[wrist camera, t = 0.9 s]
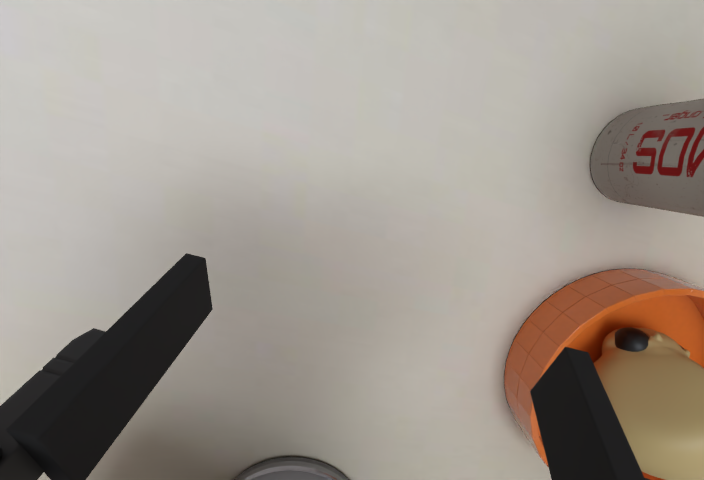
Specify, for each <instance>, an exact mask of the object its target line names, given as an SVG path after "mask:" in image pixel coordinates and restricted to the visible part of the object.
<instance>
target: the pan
mask: <svg viewBox="0 0 704 480" xmlns="http://www.w3.org/2000/svg"><path fill="white" fill-rule="evenodd" d="M625 327H633V328H646V329H651V330H655V331H658V332H661V333H663V334H665V335H667V336H669V337H670V338H672V339H673V340H674V341H675V342H677V343H678V344H679V345H680V346H682V347H683V348H684V349H686V350H688V351H689V352H690V356H689V358H690V359H691V360H693V361H695V362H696V363H698V364H699V365H701V366H702V367H703V368H704V289H703V288H700V287H698V286H695V285H692V284H690V283H687V282H684V281H681V280H679V279H676V278H673V277H671V276H668V275H665V274H661V273H657V272H653V271H648V270H642V269H617V270H608V271H604V272H600V273H596V274H592V275H590V276H587V277H584V278H581V279H579V280H577V281H575V282H573V283H571V284H569V285H567V286H565V287H564V288H562V289H561V290H559V291H557V292H556V293H554V294H553V295H552V296H550V297H549V298H548V299H547V300H545V301H544V302H543V303H542V304H541V305H540V306H539V307H538V308H537V309H536V310H535V311H534V312H533V313H532V314H531V315H530V316H529V318H528V319H527V320H526V322H525V323H524V324H523V326H522V327H521V329H520V330H519V332H518V334H517V335H516V337H515V339H514V341H513V344H512V346H511V348H510V351H509V354H508V358H507V361H506V367H505V374H504V386H505V393H506V398H507V401H508V404H509V407H510V409H511V411H512V413H513V415H514V418H515V420H516V421H517V423H518V424H519V426H520V427H521V429H522V430H523V432H524V433H525V435H526V436H527V438H528V439H529V441H530V442H531V444H532V445H533V447H534V448H535V450H536V451H537V453H538V454H539V456H540V457H541V459H542V460H543V461H544V462H545V463H546V465H547V466H548V462H547V458H546V454H545V450H544V446H543V442H542V438H541V434H540V430H539V426H538V422H537V418H536V414H535V410H534V406H533V402H532V398H531V394H530V391H531V389H532V388H533V387H534V386H535V384H536V383H537V382H538V381H539V379H540V378H541V377H542V375H543V374H544V373H545V372H546V370H547V369H548V368H549V367H550V365H551V364H552V363H553V361H554V360H555V359H556V358H557V356H558V355H559V354H560V353H561V351H562V350H563V349H564V348H565V347H569V348H573V349H577V350H581V351H585V352H588V353H589V355H590V357H591V359H592V362H593V363H594V362H595V361H597V360H598V359H599V358H600V357H601V356H602V344H603V341H604V339H605V337H606V336H607V335H608V334H609V333H611V332H612V331H614V330H616V329H619V328H625ZM548 467H549V466H548ZM642 474H643V476H644V478H647V479H651V480H665V479H661V478H658V477H654V476H652V475H649V474H647V473H644V472H642Z"/></svg>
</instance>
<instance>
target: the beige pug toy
mask: <svg viewBox="0 0 704 480" xmlns="http://www.w3.org/2000/svg"><path fill="white" fill-rule="evenodd" d="M689 356H690V352H689V351H688V350H686V349H684V348H683V347H682V346H680V345H679V344H678V343H677V342H675V341H674V340H673V339H672V338H670V337H669V336H667V335H665V334H663V333H661V332H658V331H655V330H651V329H646V328H633V327H625V328H619V329H616V330H614V331H612V332H611V333H609V334H608V335H607V336H606V337H605V339H604V341H603V344H602V356H601V357H600V358H599V359H598V360H597V361H595V362H594V363H593V364H594V366H595V368H596V371H597V373H598V375H599V377H600V380H601V382H602V384H603V386H604V389H605V391H606V393H607V395H608V397H609V400H610V402H611V404H612V406H613V409H614V411H615V413H616V415H617V418H618V420H619V422H620V424H621V427H622V429H623V431H624V433H625V436H626V438H627V440H628V442H629V444H630V447H631V449H632V451H633V453H634V456H635V458H636V460H637V462H638V465H639V467H640V469H641V471H642V472H644V473H647V474H649V475H652V476H654V477H658V478H661V479H665V480H704V368H703V367H702V366H701V365H699V364H698V363H696V362H695V361H693V360H691V359H690V358H689Z"/></svg>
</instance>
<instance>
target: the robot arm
mask: <svg viewBox="0 0 704 480" xmlns="http://www.w3.org/2000/svg"><path fill="white" fill-rule="evenodd" d="M211 311H212V302H211V295H210V288H209V281H208V273H207V266H206V259H205V258H203V257H199V256H195V255H191V254H185V255H184V256H183V257H182V258H181V259H180V260H179V261H178V262H177V263H176V264H175V265H174V266H173V267H172V268H171V269H170V270H169V271H168V272H167V273H166V274H165V275H164V276H163V277H162V278H161V279H160V280H159V281H158V282H157V283H156V284H155V285H153V286H152V287H151V288H150V289H149V290H148V291H147V292H146V293H145V294H144V295H143V296H142V297H141V298H140V299H139V300H138V301H137V302H136V303H135V304H134V305H133V306H132V307H131V308H130V309H129V310H128V311H127V312H126V313H125V314H124V315H123V316H122V317H121V318H120V319H119V320H118V321H117V322H116V323H115V324H114V325H113V326H112V327H111V328H109V329H108V330H107V331H106V332H105V331H101V330H97V329H94V328H93V329H92V330H90V331H88V332H86V333H85V334H83V335H81V336H79V337H77V338H76V339H74V340H72V341H71V342H70V343H69V344H68V345H67V346H66V347H65V348H64V349H63V350H62V351H60V352H59V353H58V354H57V356H56V358H53V359H52V360H51V361H49V362H48V363H47V364H46V365H45V366H44V367H43V369H42V370H41V371H38V372H37V373H36V374H35V375H34V376H33V377H32V378H31V379H30V380H29V381H27V382H26V383H25V384H24V385H23V386H22V387H21V388H20V389H19V390H18V391H16V392H15V393H14V394H13V395H12V396H11V397H10V398H9V399H8V400H7V401H6V402H4V403H3V404H2V405H1V406H0V480H37V479H38V478H39V477H40V476H41V475H42V473H43V472H45V474H46V475H47V476H48V477H49V478H50V479H51V480H86V478H87V477H88V476H89V474H90V473H91V472H92V470H93V469H94V468H95V466H96V465H97V464H98V462H99V461H100V460H101V458H102V457H103V455H104V454H105V453H106V451H107V450H108V449H109V447H110V446H111V445H112V443H113V442H114V441H115V439H116V438H117V437H118V435H119V434H120V433H121V431H122V430H123V429H124V427H125V426H126V425H127V423H128V422H129V421H130V419H131V418H132V417H133V415H134V414H135V413H136V411H137V410H138V409H139V407H140V406H141V404H142V403H143V402H144V400H145V399H146V398H147V396H148V395H149V394H150V392H151V391H152V390H153V388H154V387H155V386H156V384H157V383H158V382H159V380H160V379H161V378H162V376H163V375H164V374H165V372H166V371H167V370H168V368H169V367H170V366H171V364H172V363H173V362H174V360H175V359H176V357H177V356H178V355H179V353H180V352H181V351H182V349H183V348H184V347H185V345H186V344H187V343H188V341H189V340H190V339H191V337H192V336H193V335H194V333H195V332H196V331H197V329H198V328H199V327H200V325H201V324H202V323H203V321H204V320H205V319H206V317H207V316H208V315H209V313H210V312H211ZM530 394H531V398H532V402H533V406H534V410H535V414H536V418H537V422H538V426H539V430H540V434H541V438H542V442H543V446H544V450H545V454H546V458H547V462H548V466H549V470H550V474H551V478H552V480H651V479H647V478H644V476H643V474H642V471H641V469H640V467H639V465H638V462H637V460H636V458H635V456H634V453H633V451H632V449H631V447H630V444H629V442H628V440H627V438H626V436H625V433H624V431H623V429H622V427H621V424H620V422H619V420H618V418H617V415H616V413H615V411H614V409H613V406H612V404H611V402H610V400H609V397H608V395H607V393H606V391H605V389H604V386H603V384H602V382H601V380H600V377H599V375H598V373H597V371H596V368H595V366H594V364H593V362H592V359H591V357H590V355H589V353H588V352H585V351H581V350H577V349H573V348H569V347H565V348H564V349H563V350H562V351H561V353H560V354H559V355H558V356H557V358H556V359H555V360H554V361H553V363H552V364H551V365H550V367H549V368H548V369H547V370H546V372H545V373H544V374H543V375H542V377H541V378H540V379H539V381H538V382H537V383H536V384H535V386H534V387H533V388H532V389H531V391H530ZM235 480H348V479H347V478H346V477H345V476H344V475H343V474H342V473H340V472H339V471H338V470H336V469H335V468H333V467H331V466H329V465H327V464H325V463H322V462H319V461H316V460H312V459H307V458H300V457H283V458H276V459H271V460H267V461H264V462H261V463H259V464H256V465H254V466H252V467H250V468H249V469H247V470H245V471H244V472H243V473H241V474H240V475H239V476H238V477H237V478H236V479H235Z"/></svg>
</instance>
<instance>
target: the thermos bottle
mask: <svg viewBox="0 0 704 480" xmlns="http://www.w3.org/2000/svg"><path fill="white" fill-rule="evenodd" d="M590 166H591V174H592V178H593V181H594V183H595V185H596V186H597V188H598V189H599V190H600V191H601V192H602V194H603V195H605V196H606V197H608V198H609V199H612V200H614V201H617V202H622V203H628V204H634V205H639V206H645V207H651V208H657V209H662V210H668V211H674V212H680V213H686V214H691V215H697V216H703V217H704V99H698V100H692V101H686V102H679V103H670V104H662V105H656V106H650V107H644V108H638V109H634V110H631V111H628V112H626V113H624V114H622V115H620V116H618V117H617V118H616V119H614V120H613V121H612V122H610V123H609V124H608V126H607V127H606V128H605V129H604V130H603V131H602V133H601V134H600V136H599V137H598V139H597V141H596V143H595V145H594V148H593V151H592V155H591V164H590Z"/></svg>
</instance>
